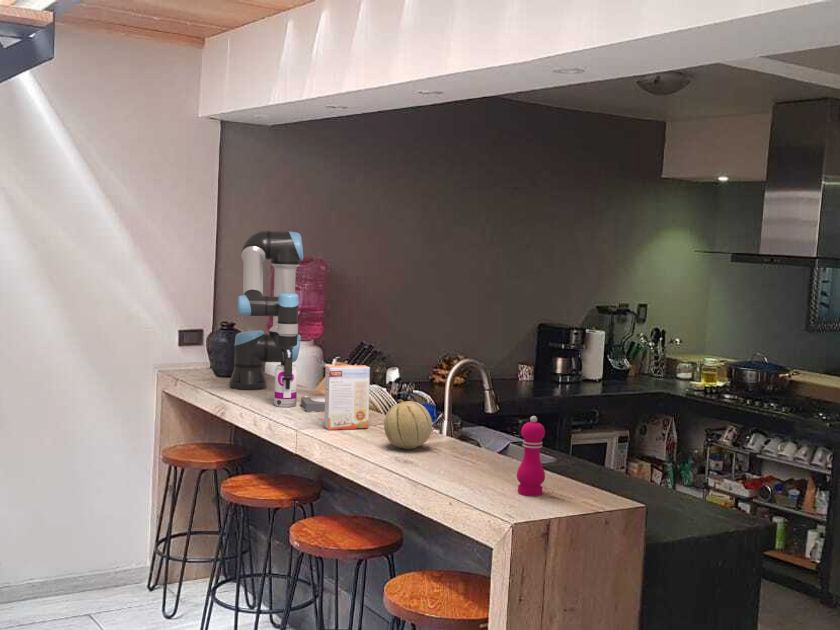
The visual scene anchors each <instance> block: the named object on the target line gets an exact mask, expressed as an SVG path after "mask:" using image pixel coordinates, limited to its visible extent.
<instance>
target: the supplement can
mask: <svg viewBox="0 0 840 630" xmlns="http://www.w3.org/2000/svg"><path fill="white" fill-rule="evenodd" d="M283 378H284V365H281V364H276V367H275V369H274V399H273V400H274V401H273V404H274V405H275V406H276V407H279V408H294V407H295V406H296V405H297V401H298V400H297V396H298V395H297V394H298V392H297V391H298V390H297V389H298V367H296V365H295V364H292V379H291V398H283V388H284V380H282V379H283ZM293 406H294V407H293Z"/></svg>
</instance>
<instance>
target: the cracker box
mask: <svg viewBox="0 0 840 630" xmlns="http://www.w3.org/2000/svg"><path fill="white" fill-rule="evenodd" d="M370 372H371V367H369V366H368V365H365V364H364V365H362V364H359V365H351V364H349V365H325V373H324V374H325V380H324V382H325V383H324V384H325V385H324V396H325V412H324V422H323V423H324V428H325V429H326V430H327V431H338V429H343V430H357V429H356V428H368V429H369V414H370V413H369V411H370V410H369V409H370V408H369V407H370V374H371V373H370Z"/></svg>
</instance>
